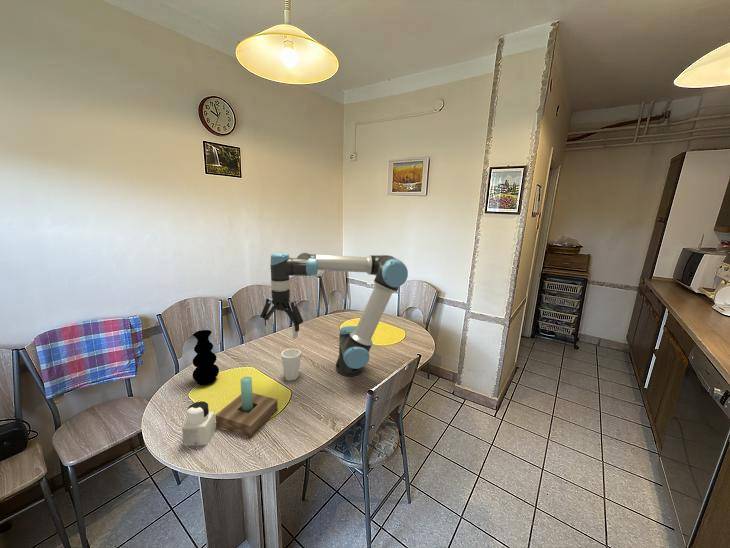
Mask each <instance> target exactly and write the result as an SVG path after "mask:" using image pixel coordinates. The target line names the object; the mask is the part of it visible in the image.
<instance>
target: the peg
mask: <svg viewBox="0 0 730 548" xmlns="http://www.w3.org/2000/svg"><path fill="white" fill-rule="evenodd" d="M252 393H253V378H252V377H251V376H244V377H242V378H241V379H240V395H241V398H242V411H243V412H246V413H249V412H250V411H251V410H252V409H253V394H252Z"/></svg>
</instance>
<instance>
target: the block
mask: <svg viewBox="0 0 730 548" xmlns="http://www.w3.org/2000/svg"><path fill="white" fill-rule="evenodd" d="M252 394H253V409H252V410H251V411H250V412H249V413H246V412H243V411H242V398H241V394H240V395H238V396H237V397H235V398H234V399H233V400H232V401H231V402H230V403H228V404H227V405H226V406H225V407H223V408H222V409H221V410H220V411H219V412H217V413H216V414H215V424H216V428H219V429H222V430H225V431H228V432H230V433H234V434H237V435H240V436H243V437H247V438H249V439H252V438H253V437H254V436H255V434H257V432H258V431H259V430H260V429H261V428H262V427H263V426H264V425H266V423H267V422H268V421H269V420H270V419H271V418H272V417H273V416H274V415H275V414H276V413H277V411H278V399H276V398H273V397H271V396H270V397H269V396H267V395H262V394H259V393H256V392H255V393H254V392H252Z"/></svg>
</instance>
